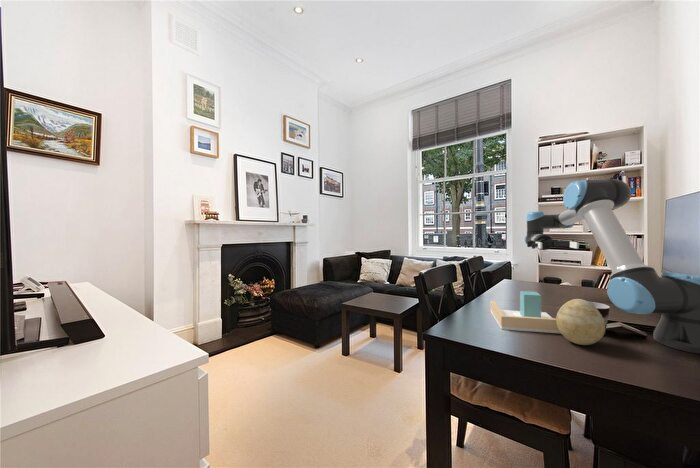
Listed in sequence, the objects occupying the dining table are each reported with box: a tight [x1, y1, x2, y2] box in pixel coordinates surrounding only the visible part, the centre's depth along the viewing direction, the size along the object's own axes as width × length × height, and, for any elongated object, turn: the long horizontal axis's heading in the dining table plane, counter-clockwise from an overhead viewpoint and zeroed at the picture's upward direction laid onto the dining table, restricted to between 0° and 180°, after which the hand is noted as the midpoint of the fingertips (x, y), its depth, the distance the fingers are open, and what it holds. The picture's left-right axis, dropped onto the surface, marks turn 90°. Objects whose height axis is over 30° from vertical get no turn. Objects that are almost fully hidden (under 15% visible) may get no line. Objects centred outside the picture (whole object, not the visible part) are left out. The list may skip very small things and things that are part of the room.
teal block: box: [519, 290, 542, 318], centre depth 118 cm, size 6×6×10 cm
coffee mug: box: [588, 301, 611, 336], centre depth 104 cm, size 12×9×10 cm
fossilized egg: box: [555, 298, 605, 346], centre depth 95 cm, size 13×13×15 cm
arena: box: [489, 300, 561, 334], centre depth 117 cm, size 22×22×5 cm
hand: (559, 245), depth 124 cm, fingers open, 13 cm apart
